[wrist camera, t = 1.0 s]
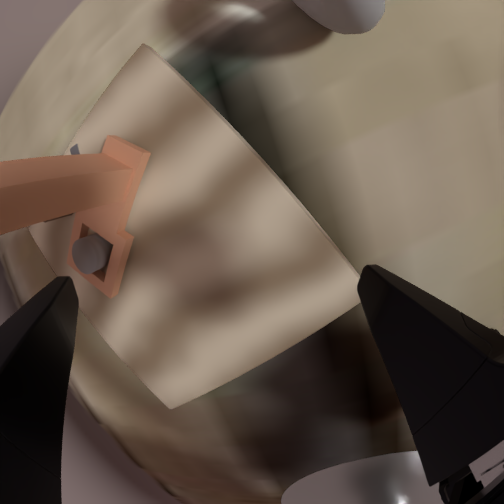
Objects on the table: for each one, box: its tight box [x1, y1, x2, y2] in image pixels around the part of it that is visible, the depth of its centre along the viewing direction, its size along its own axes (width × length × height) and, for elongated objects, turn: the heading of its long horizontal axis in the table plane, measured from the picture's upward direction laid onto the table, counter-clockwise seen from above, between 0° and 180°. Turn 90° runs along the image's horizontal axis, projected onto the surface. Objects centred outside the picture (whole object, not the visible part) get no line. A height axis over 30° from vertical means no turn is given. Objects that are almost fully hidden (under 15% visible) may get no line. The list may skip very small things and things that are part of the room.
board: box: [28, 44, 361, 410], centre depth 21 cm, size 24×22×4 cm
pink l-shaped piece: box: [0, 135, 151, 299], centre depth 16 cm, size 12×6×11 cm, turn 153°
